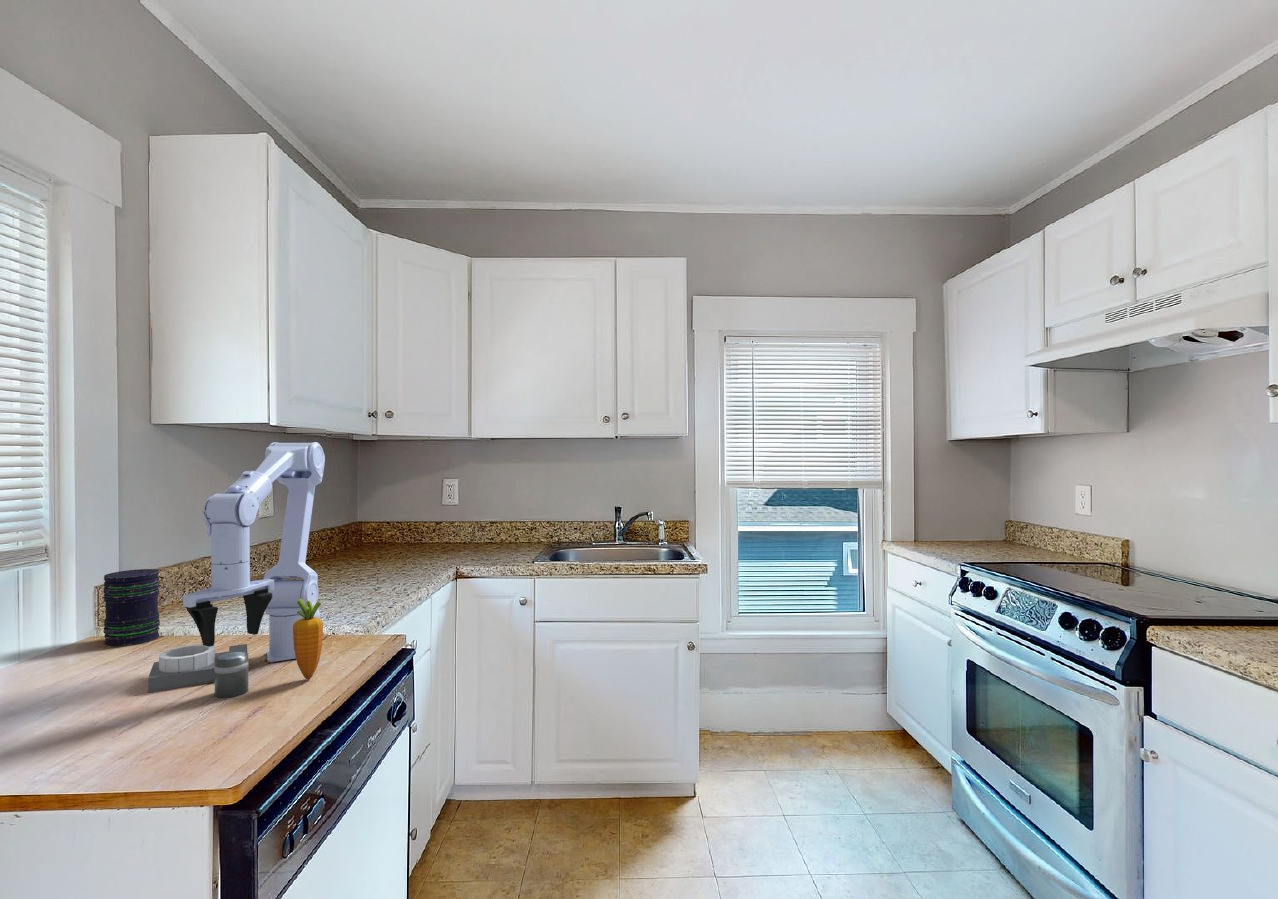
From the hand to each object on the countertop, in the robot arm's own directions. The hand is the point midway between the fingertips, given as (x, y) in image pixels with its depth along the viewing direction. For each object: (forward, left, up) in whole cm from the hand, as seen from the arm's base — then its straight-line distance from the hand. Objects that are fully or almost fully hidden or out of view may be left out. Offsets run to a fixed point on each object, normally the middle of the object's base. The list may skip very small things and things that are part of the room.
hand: (231, 639), depth 114 cm
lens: (0, 0, -9) cm, 9 cm away
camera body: (+5, -13, -9) cm, 17 cm away
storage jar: (+19, -48, -10) cm, 52 cm away
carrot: (-12, 0, -10) cm, 15 cm away
